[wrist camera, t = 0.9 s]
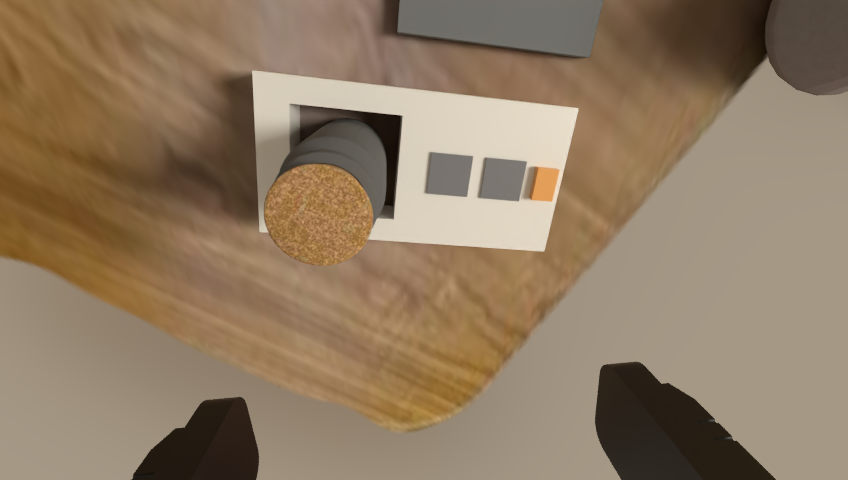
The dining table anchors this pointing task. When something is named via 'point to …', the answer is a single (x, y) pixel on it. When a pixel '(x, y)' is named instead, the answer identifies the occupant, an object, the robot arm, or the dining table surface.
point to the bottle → (328, 193)
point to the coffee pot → (809, 44)
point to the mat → (506, 23)
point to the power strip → (436, 158)
